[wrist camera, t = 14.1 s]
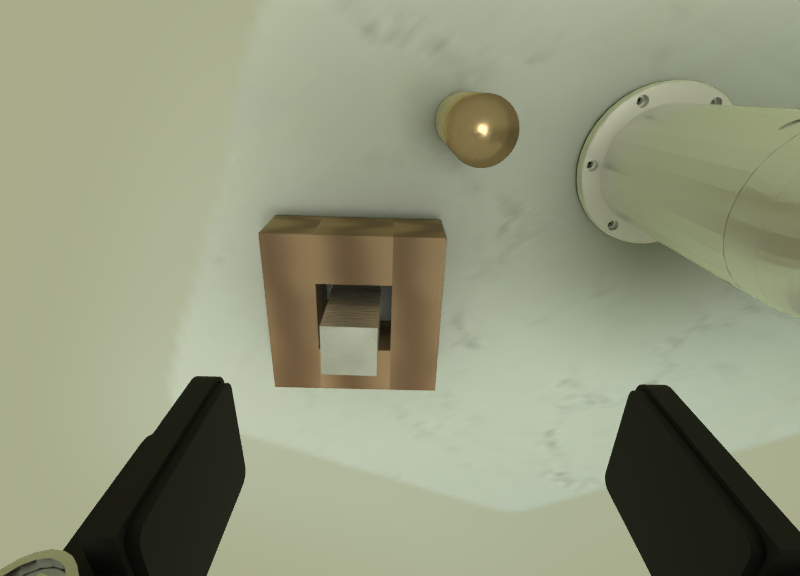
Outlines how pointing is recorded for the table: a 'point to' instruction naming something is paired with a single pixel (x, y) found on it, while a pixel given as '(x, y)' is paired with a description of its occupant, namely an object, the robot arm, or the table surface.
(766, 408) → the table surface
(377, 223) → the socket block
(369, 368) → the square peg
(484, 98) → the round peg
